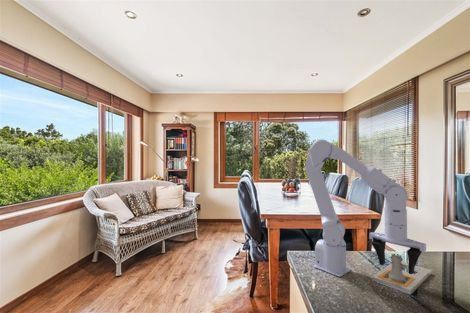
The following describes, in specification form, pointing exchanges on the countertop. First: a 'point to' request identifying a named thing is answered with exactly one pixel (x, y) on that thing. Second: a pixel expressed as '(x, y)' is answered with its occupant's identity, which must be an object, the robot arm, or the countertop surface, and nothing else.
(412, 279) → the rail plate
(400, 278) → the rook chess piece
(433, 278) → the countertop surface
